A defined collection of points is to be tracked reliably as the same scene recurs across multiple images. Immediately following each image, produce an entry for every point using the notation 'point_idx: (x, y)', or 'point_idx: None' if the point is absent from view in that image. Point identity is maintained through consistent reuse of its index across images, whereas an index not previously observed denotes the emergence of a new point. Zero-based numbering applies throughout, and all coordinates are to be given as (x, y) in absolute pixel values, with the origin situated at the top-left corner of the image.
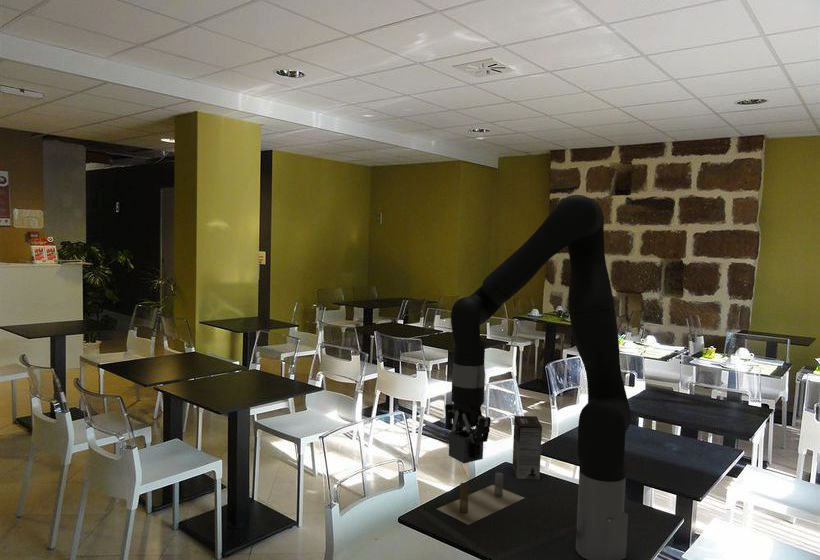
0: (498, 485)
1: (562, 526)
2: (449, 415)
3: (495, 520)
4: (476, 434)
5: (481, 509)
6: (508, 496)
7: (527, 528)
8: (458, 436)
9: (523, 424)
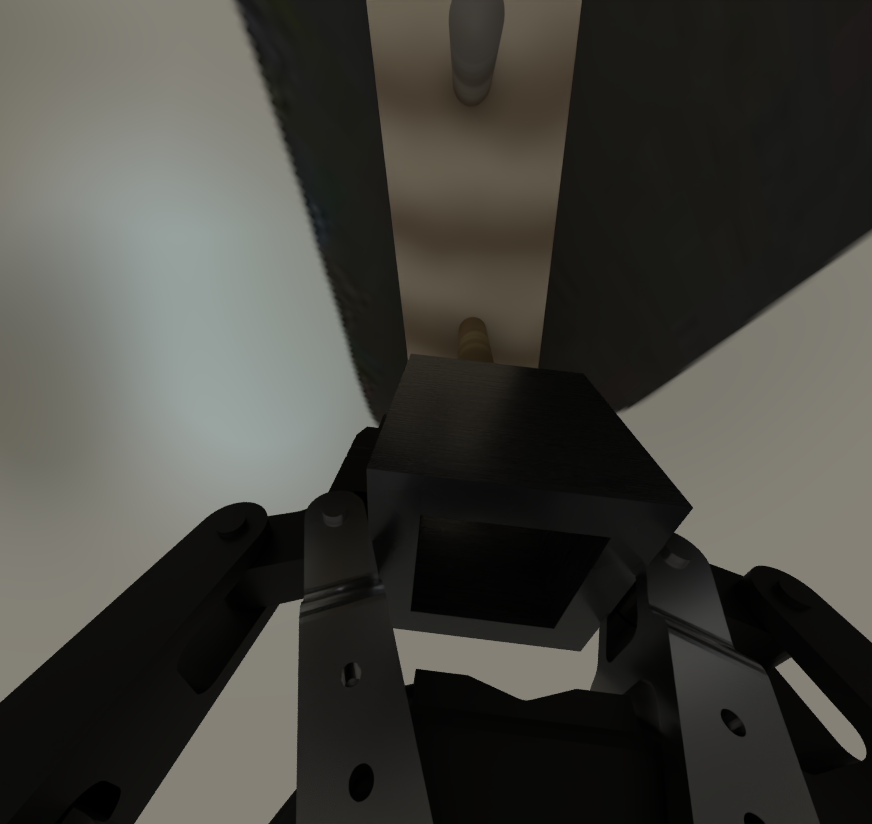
0: (486, 77)
1: (841, 13)
2: (158, 778)
3: (557, 252)
4: (646, 605)
5: (505, 271)
6: (513, 30)
7: (684, 197)
8: (490, 638)
9: None
